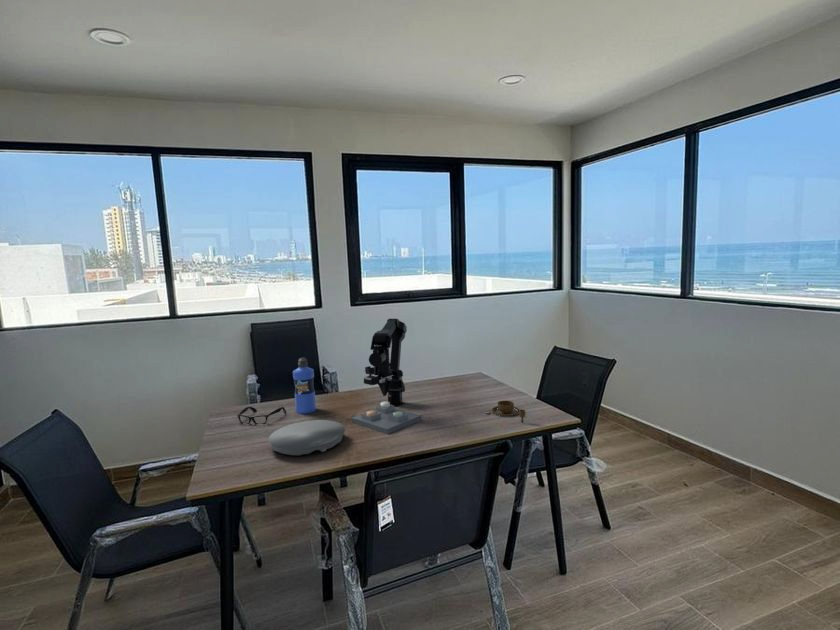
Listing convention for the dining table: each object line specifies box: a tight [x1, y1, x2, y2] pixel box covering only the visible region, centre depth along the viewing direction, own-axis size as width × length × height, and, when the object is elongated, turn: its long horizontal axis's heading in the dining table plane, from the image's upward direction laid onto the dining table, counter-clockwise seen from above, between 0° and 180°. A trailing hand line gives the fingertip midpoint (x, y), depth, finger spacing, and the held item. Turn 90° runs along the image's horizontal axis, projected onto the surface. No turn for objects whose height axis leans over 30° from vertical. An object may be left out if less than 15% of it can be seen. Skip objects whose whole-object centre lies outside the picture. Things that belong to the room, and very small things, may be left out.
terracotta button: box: [365, 410, 376, 416], centre depth 190 cm, size 4×4×2 cm
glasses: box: [237, 406, 287, 425], centre depth 202 cm, size 17×18×5 cm
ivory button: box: [380, 401, 390, 409], centre depth 198 cm, size 4×4×2 cm
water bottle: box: [292, 357, 317, 415], centre depth 208 cm, size 9×9×25 cm
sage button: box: [393, 411, 403, 417], centre depth 187 cm, size 4×4×2 cm
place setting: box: [485, 400, 526, 424], centre depth 192 cm, size 18×20×6 cm
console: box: [351, 404, 423, 435], centre depth 191 cm, size 20×22×4 cm
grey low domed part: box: [268, 419, 346, 456], centre depth 169 cm, size 28×28×4 cm
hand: (384, 395), depth 198 cm, fingers closed
